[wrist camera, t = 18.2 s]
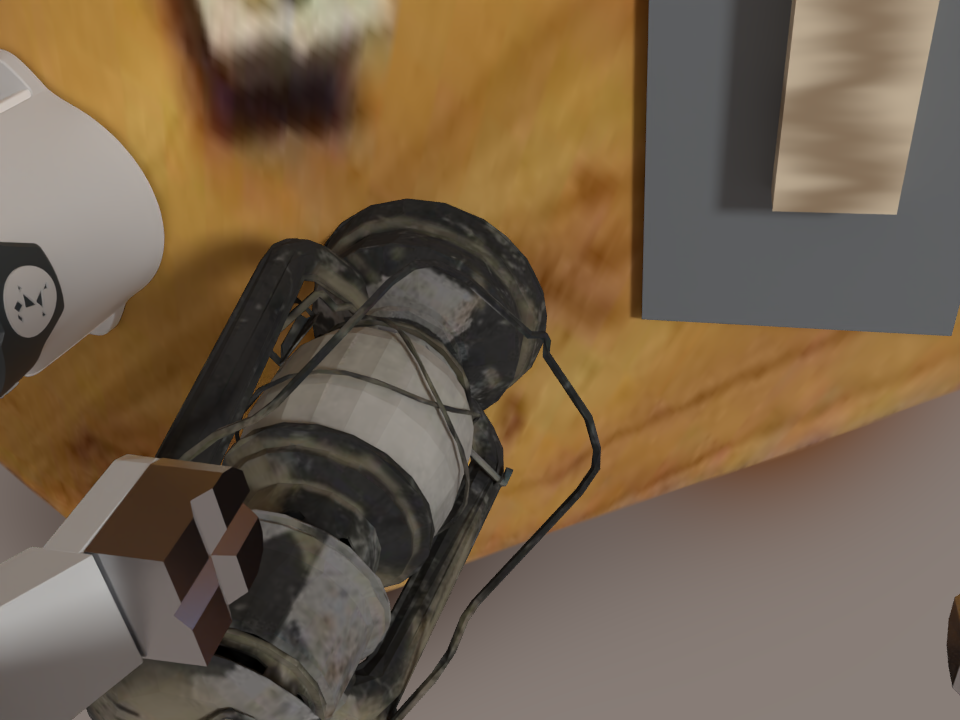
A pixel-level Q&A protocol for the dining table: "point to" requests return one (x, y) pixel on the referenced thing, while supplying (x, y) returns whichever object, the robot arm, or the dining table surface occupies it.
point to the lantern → (356, 461)
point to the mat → (748, 180)
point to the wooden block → (850, 103)
